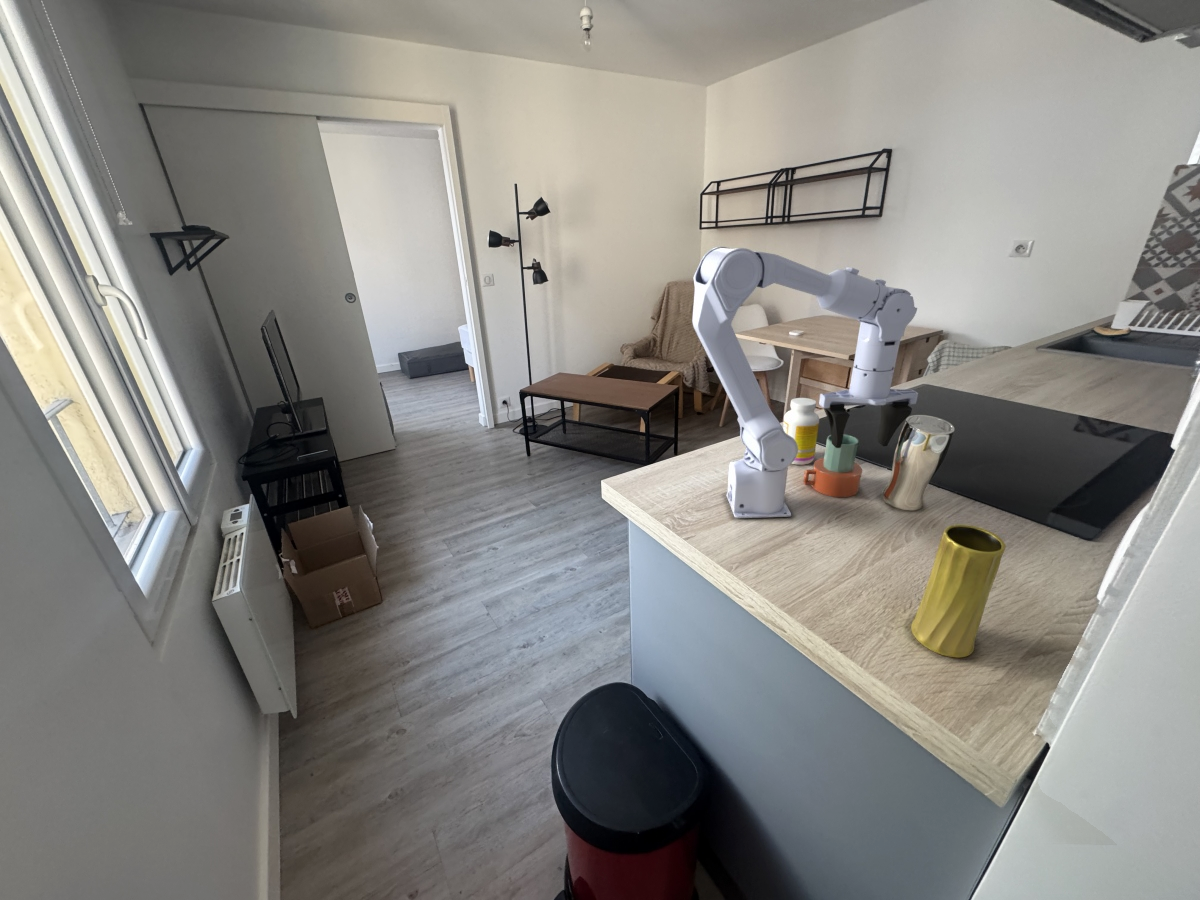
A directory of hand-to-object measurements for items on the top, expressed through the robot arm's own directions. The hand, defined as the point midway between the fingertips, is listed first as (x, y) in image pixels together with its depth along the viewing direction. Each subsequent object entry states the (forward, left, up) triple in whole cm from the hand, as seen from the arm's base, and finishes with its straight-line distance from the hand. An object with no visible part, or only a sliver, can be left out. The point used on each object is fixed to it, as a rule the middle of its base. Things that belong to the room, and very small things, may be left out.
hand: (858, 444), depth 80 cm
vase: (-3, -32, -11) cm, 34 cm away
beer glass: (+8, -2, -10) cm, 13 cm away
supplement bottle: (-4, +16, -11) cm, 20 cm away
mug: (-1, +4, -10) cm, 11 cm away
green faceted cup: (-1, +4, -6) cm, 7 cm away
